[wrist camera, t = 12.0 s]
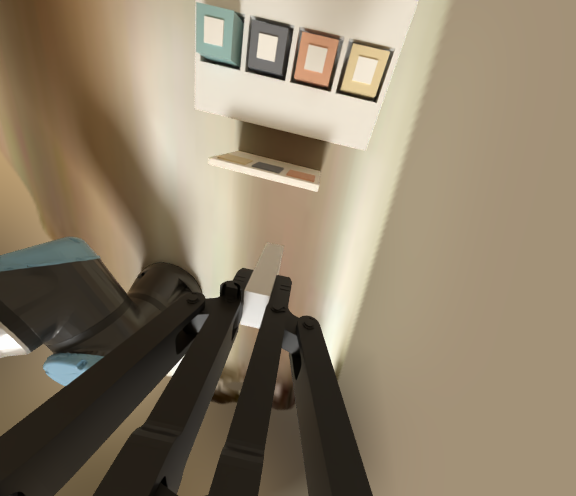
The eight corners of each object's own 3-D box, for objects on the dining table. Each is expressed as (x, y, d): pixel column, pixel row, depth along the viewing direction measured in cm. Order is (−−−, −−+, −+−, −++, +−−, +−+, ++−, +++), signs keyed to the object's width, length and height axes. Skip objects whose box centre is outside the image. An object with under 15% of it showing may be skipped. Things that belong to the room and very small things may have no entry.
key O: (256, 73, 31) (247, 65, 27) (261, 33, 29) (251, 19, 25) (286, 80, 31) (281, 73, 27) (293, 40, 29) (288, 27, 25)
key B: (297, 83, 30) (293, 77, 27) (305, 43, 28) (302, 30, 25) (327, 90, 30) (327, 85, 27) (337, 51, 28) (339, 39, 25)
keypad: (210, 112, 35) (194, 109, 31) (216, -38, 27) (195, -70, 23) (360, 148, 34) (365, 151, 30) (409, 5, 27) (425, -20, 22)
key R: (211, 61, 30) (195, 51, 26) (212, 18, 28) (195, 1, 24) (242, 68, 29) (230, 59, 26) (245, 26, 27) (233, 9, 24)
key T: (339, 93, 30) (341, 88, 27) (349, 54, 28) (353, 42, 25) (369, 100, 30) (375, 96, 26) (382, 61, 28) (390, 51, 24)
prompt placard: (238, 155, 37) (208, 164, 28) (238, 149, 37) (208, 156, 27) (319, 176, 37) (317, 191, 27) (321, 169, 37) (319, 183, 27)
